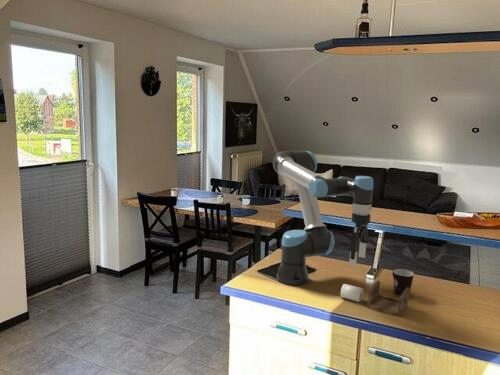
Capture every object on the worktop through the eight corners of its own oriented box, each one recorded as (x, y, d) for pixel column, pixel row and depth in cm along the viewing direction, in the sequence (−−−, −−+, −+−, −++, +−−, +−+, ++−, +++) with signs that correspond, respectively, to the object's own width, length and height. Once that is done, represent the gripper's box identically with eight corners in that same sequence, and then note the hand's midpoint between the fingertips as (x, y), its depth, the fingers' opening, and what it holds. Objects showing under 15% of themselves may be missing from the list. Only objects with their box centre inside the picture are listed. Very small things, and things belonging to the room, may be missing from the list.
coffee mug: (413, 298, 184) (415, 277, 182) (392, 296, 186) (394, 275, 184) (408, 288, 195) (410, 268, 194) (389, 286, 197) (391, 266, 195)
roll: (340, 299, 181) (341, 285, 180) (344, 295, 186) (346, 282, 185) (358, 303, 177) (359, 290, 176) (362, 300, 182) (363, 286, 181)
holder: (366, 307, 174) (368, 289, 173) (374, 297, 184) (376, 280, 183) (401, 317, 166) (403, 298, 165) (408, 306, 176) (410, 288, 175)
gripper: (361, 220, 163) (357, 272, 167) (377, 209, 184) (373, 255, 188) (343, 217, 167) (339, 268, 171) (361, 206, 188) (357, 252, 192)
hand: (357, 261), depth 179 cm, fingers open, 13 cm apart
